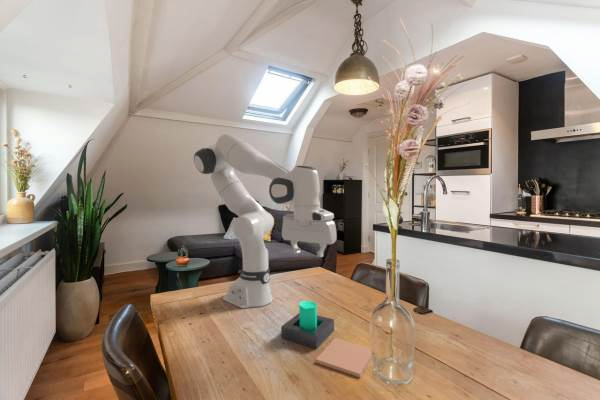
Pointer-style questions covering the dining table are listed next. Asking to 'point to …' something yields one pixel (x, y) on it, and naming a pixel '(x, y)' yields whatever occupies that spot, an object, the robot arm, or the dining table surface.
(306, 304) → the candle
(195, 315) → the dining table surface
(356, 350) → the tile
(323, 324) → the holder
